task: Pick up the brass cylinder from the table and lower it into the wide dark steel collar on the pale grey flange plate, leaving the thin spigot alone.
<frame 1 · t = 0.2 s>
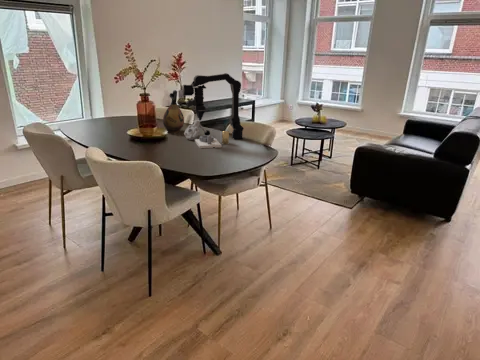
hand: (199, 119, 230), 14 cm above the table, fingers open, 9 cm apart
mechanical valve: (198, 138, 242), on the table
flange plate: (207, 144, 225), on the table
ceramic jug: (174, 131, 257), on the table
brass cylinder: (225, 143, 229), on the table
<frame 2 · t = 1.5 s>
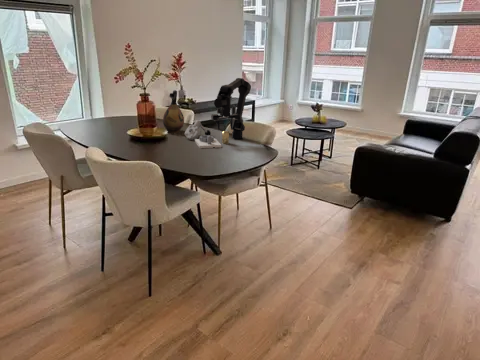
hand: (225, 129, 226), 9 cm above the table, fingers open, 9 cm apart
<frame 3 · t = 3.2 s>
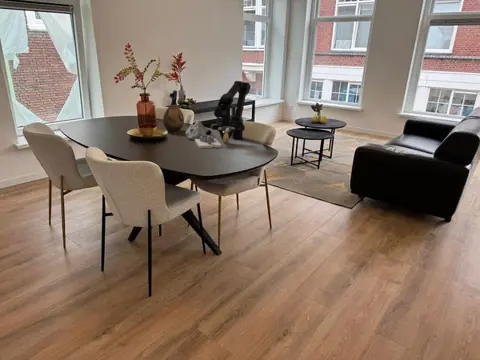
hand: (225, 139, 228), 3 cm above the table, fingers closed on brass cylinder, 4 cm apart
brass cylinder: (225, 143, 229), on the table, touching gripper
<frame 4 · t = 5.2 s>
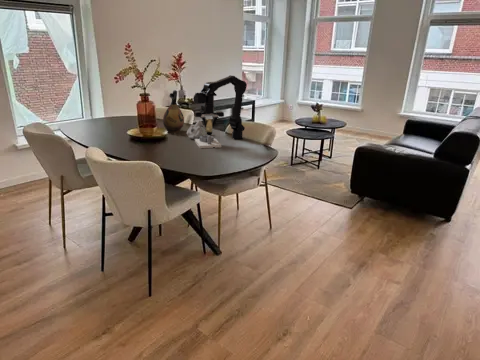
hand: (208, 127, 225), 11 cm above the table, fingers closed on brass cylinder, 4 cm apart
brass cylinder: (208, 131, 225), point 8 cm above the table, touching gripper
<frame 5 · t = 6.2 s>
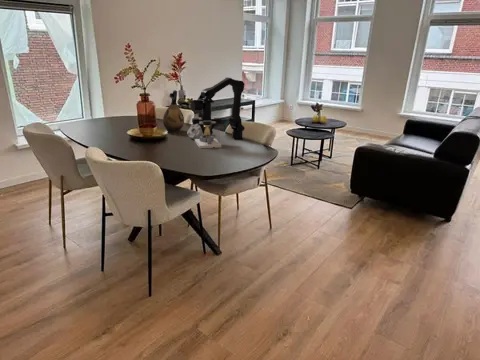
hand: (206, 133, 226), 6 cm above the table, fingers closed on brass cylinder, 4 cm apart
brass cylinder: (206, 137, 227), point 3 cm above the table, touching gripper
when the fingers open (5 cm above the table, at t = 7.2 s): brass cylinder stays where it is, resting on flange plate.
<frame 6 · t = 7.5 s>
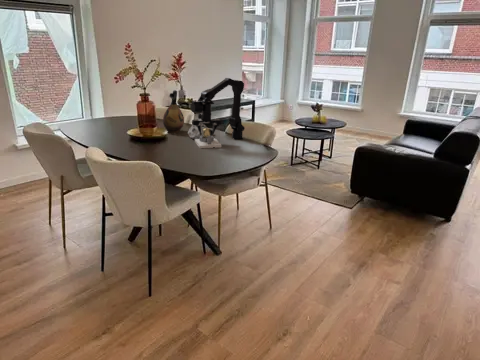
hand: (206, 135, 227), 5 cm above the table, fingers open, 8 cm apart
brass cylinder: (206, 140, 228), point 2 cm above the table, touching flange plate
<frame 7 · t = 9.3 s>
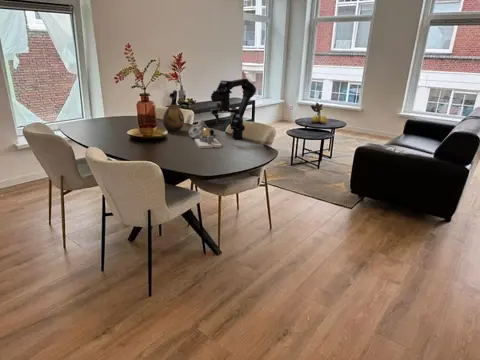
hand: (224, 124, 229), 12 cm above the table, fingers open, 9 cm apart
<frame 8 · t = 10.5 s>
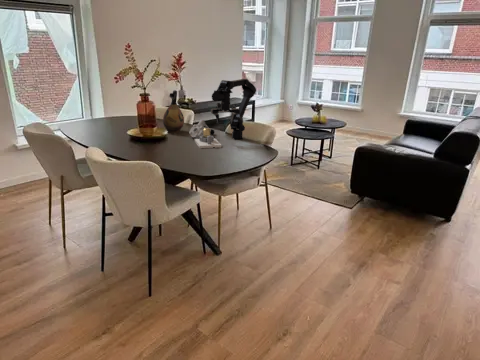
hand: (225, 124, 229), 12 cm above the table, fingers open, 9 cm apart
at the end: brass cylinder 0.1 cm from the target spot on the flange plate, point 1.5 cm above the flange plate's base; brass cylinder tilted 0°; the gripper is holding nothing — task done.
